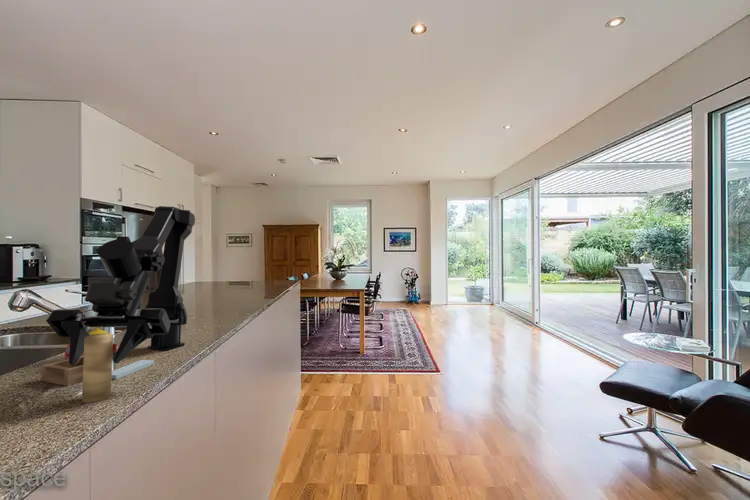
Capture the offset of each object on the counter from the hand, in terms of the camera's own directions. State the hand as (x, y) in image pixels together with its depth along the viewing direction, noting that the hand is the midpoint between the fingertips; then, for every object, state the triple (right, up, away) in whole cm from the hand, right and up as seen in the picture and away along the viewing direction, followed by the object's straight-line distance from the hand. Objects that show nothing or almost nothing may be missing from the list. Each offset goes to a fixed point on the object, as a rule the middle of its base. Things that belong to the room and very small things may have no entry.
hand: (93, 363), depth 59 cm
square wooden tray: (-13, -6, +11) cm, 18 cm away
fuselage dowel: (0, -7, +1) cm, 7 cm away
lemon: (-16, -7, +19) cm, 26 cm away
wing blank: (-4, -7, +15) cm, 17 cm away
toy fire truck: (-19, -7, +25) cm, 32 cm away
